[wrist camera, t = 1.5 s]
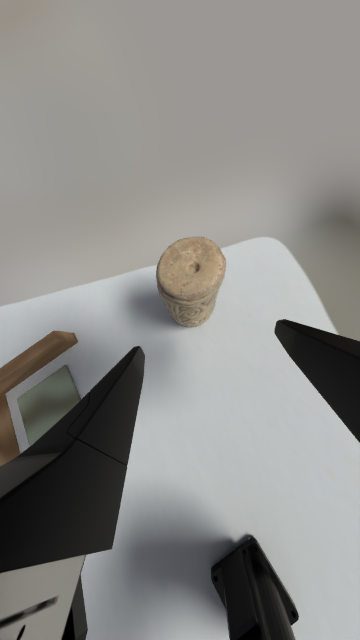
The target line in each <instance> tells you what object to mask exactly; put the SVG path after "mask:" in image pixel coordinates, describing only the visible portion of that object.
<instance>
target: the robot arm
mask: <svg viewBox="0 0 360 640" xmlns="http://www.w3.org/2000/svg"><path fill="white" fill-rule="evenodd" d="M275 335H276V336H277V338H278V339H279V341H280V342H281V344H282V346H283V347H284V349H285V350H286V352H287V353H288V355H289V356H290V357H291V358H292V360H293V361H294V362H295V363H296V365H297V366H298V367H299V368H300V370H301V371H302V372H303V373H304V375H305V376H306V377H307V378H308V379H309V381H310V382H311V383H312V384H313V386H314V387H315V388H316V389H317V391H318V392H319V393H320V394H321V396H322V397H323V398H324V399H325V400H326V402H327V403H328V404H329V405H330V407H331V408H332V409H333V410H334V412H335V413H336V414H337V415H338V417H339V418H340V419H341V420H342V421H343V423H344V424H345V425H346V426H347V428H348V429H349V430H350V431H351V433H352V434H353V435H354V436H355V438H356V439H357V440H358V441H359V442H360V341H357V340H353V339H350V338H346V337H343V336H340V335H336V334H333V333H330V332H326V331H323V330H320V329H316V328H313V327H309V326H306V325H303V324H299V323H296V322H293V321H289V320H286V319H283V320H278V321H277V322H276V326H275ZM144 363H145V355H144V352H143V351H142V349H141V347H140V346H137V347H133V348H132V349H131V350H130V351H129V352H128V353H127V354H126V355H125V356H124V357H123V358H122V359H121V360H120V361H119V362H118V363H117V364H116V365H115V366H114V367H113V368H112V369H111V370H110V371H109V372H108V373H107V374H106V375H105V376H104V377H103V378H102V379H101V380H100V381H99V382H98V383H97V384H96V385H95V386H94V387H93V388H92V389H91V390H90V392H88V393H87V394H86V395H85V396H84V397H83V398H82V399H81V400H80V401H79V402H78V403H77V404H76V405H75V406H74V407H73V408H72V409H71V410H70V411H69V412H68V413H67V414H66V415H64V416H63V417H62V418H61V419H60V420H59V421H58V422H57V423H56V424H55V425H53V426H52V427H51V428H50V429H49V430H48V431H47V432H46V433H45V434H44V435H42V436H41V437H40V438H39V439H38V440H37V441H36V442H35V443H34V444H32V445H31V446H30V447H29V448H28V449H26V450H25V451H24V452H23V453H21V454H20V455H18V456H17V457H15V458H14V459H12V460H11V461H9V462H7V463H5V464H4V465H2V466H0V640H85V639H86V635H87V630H88V629H87V621H86V613H85V606H84V598H83V590H82V583H81V571H82V568H83V564H84V561H85V557H86V555H87V554H91V553H96V552H101V551H105V550H110V549H112V546H113V541H114V536H115V531H116V525H117V520H118V514H119V509H120V503H121V498H122V492H123V487H124V482H125V476H126V471H127V465H128V459H129V454H130V448H131V443H132V438H133V432H134V427H135V421H136V416H137V410H138V405H139V399H140V394H141V389H142V383H143V376H144ZM254 546H255V547H254ZM215 575H216V576H215ZM211 579H212V582H213V584H214V586H215V588H216V590H217V592H218V594H219V596H220V598H221V600H222V602H223V604H224V607H225V609H226V612H227V621H228V631H229V638H230V640H295V637H294V634H293V631H292V628H291V625H293V624H294V623H295V622H296V621H297V620H298V618H299V616H298V612H297V609H296V607H295V604H294V603H293V601H292V599H291V597H290V596H289V594H288V592H287V591H286V589H285V587H284V586H283V584H282V582H281V581H280V579H279V577H278V575H277V574H276V572H275V570H274V569H273V567H272V565H271V564H270V562H269V560H268V559H267V557H266V555H265V553H264V552H263V550H262V548H261V547H260V545H259V543H258V542H257V540H256V539H255V538H250V539H249V540H248V541H247V542H245V543H244V544H243V545H241V546H240V547H239V548H237V549H236V550H235V551H233V552H232V553H231V554H229V555H228V556H227V557H225V558H224V559H223V560H221V561H220V562H219V563H217V564H216V565H215V566H213V567H212V568H211Z"/></svg>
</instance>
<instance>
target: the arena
mask: <svg viewBox="0 0 360 640" xmlns="http://www.w3.org/2000/svg"><path fill="white" fill-rule="evenodd" d="M77 342H78V341H77V338H76V336H75V334H74V333H69V332H61V331H53V332H51V333H50V334H48V335H47V336H46V337H44V338H43V339H41V340H40V341H38V342H37V343H36V344H34V345H33V346H31V347H30V348H29V349H27V350H26V351H24V352H23V353H21V354H20V355H19V356H17V357H16V358H14V359H13V360H11V361H10V362H9V363H7V364H6V365H4V366H3V367H1V368H0V466H2V465H4V464H5V463H7V462H9V461H11V460H12V459H14V458H15V457H17V456H18V455H20V452H19V448H18V444H17V440H16V436H15V432H14V428H13V424H12V420H11V416H10V412H9V408H8V404H7V400H6V396H5V393H7V392H8V391H9V390H11V389H12V388H14V387H15V386H16V385H18V384H19V383H21V382H22V381H24V380H25V379H26V378H28V377H29V376H31V375H32V374H33V373H35V372H36V371H38V370H39V369H41V368H42V367H43V366H45V365H46V364H48V363H49V362H50V361H52V360H53V359H55V358H56V357H58V356H59V355H60V354H62V353H63V352H65V351H66V350H67V349H69V348H70V347H72V346H73V345H75V344H76V343H77ZM80 400H81V399H80V396H79V394H78V391H77V389H76V386H75V384H74V381H73V379H72V376H71V374H70V371H69V369H68V366H67V365H65V366H63V367H62V368H60V369H59V370H58V371H56V372H55V373H53V374H52V375H51V376H49V377H48V378H46V379H45V380H44V381H42V382H41V383H39V384H38V385H36V386H35V387H34V388H32V389H31V390H29V391H28V392H27V393H25V394H24V395H22V396H21V397H20V398H18V399H17V401H18V405H19V408H20V412H21V416H22V419H23V423H24V427H25V431H26V434H27V438H28V442H29V445H30V446H31V445H32V444H34V443H35V442H36V441H37V440H38V439H39V438H40V437H41V436H42V435H44V434H45V433H46V432H47V431H48V430H49V429H50V428H51V427H52V426H53V425H55V424H56V423H57V422H58V421H59V420H60V419H61V418H62V417H63V416H64V415H66V414H67V413H68V412H69V411H70V410H71V409H72V408H73V407H74V406H75V405H76V404H77V403H78V402H79V401H80Z"/></svg>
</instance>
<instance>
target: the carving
mask: <svg viewBox="0 0 360 640" xmlns="http://www.w3.org/2000/svg"><path fill="white" fill-rule="evenodd" d="M225 270H226V259H225V257H224V255H223V253H222V252H221V249H220V248H219V247H218V246H217V245H216V244H215V243H214V242H213V241H211V240H209V239H207V238H204V237H190V238H184V239H181V240H178V241H176V242H175V243H173V244H172V245H171V246H169V247H168V248H167V249H166V250H165V252H164V253H163V254H162V256H161V258H160V260H159V263H158V265H157V271H156V279H157V287H158V290H159V293H160V296H161V298H162V300H163V301H164V303H165V304H166V306H167V308H168V310H169V312H170V314H171V315H172V317H173V318H174V319H175V320H176V322H177V323H179V324H181V325H183V326H186V327H196V326H199V325H201V324H202V323H204V322H205V321H206V320H207V319H208V318H209V317H210V315H211V313H212V312H213V310H214V307H215V302H216V298H217V295H218V290H219V288H220V286H221V284H222V282H223V279H224V276H225Z"/></svg>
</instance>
